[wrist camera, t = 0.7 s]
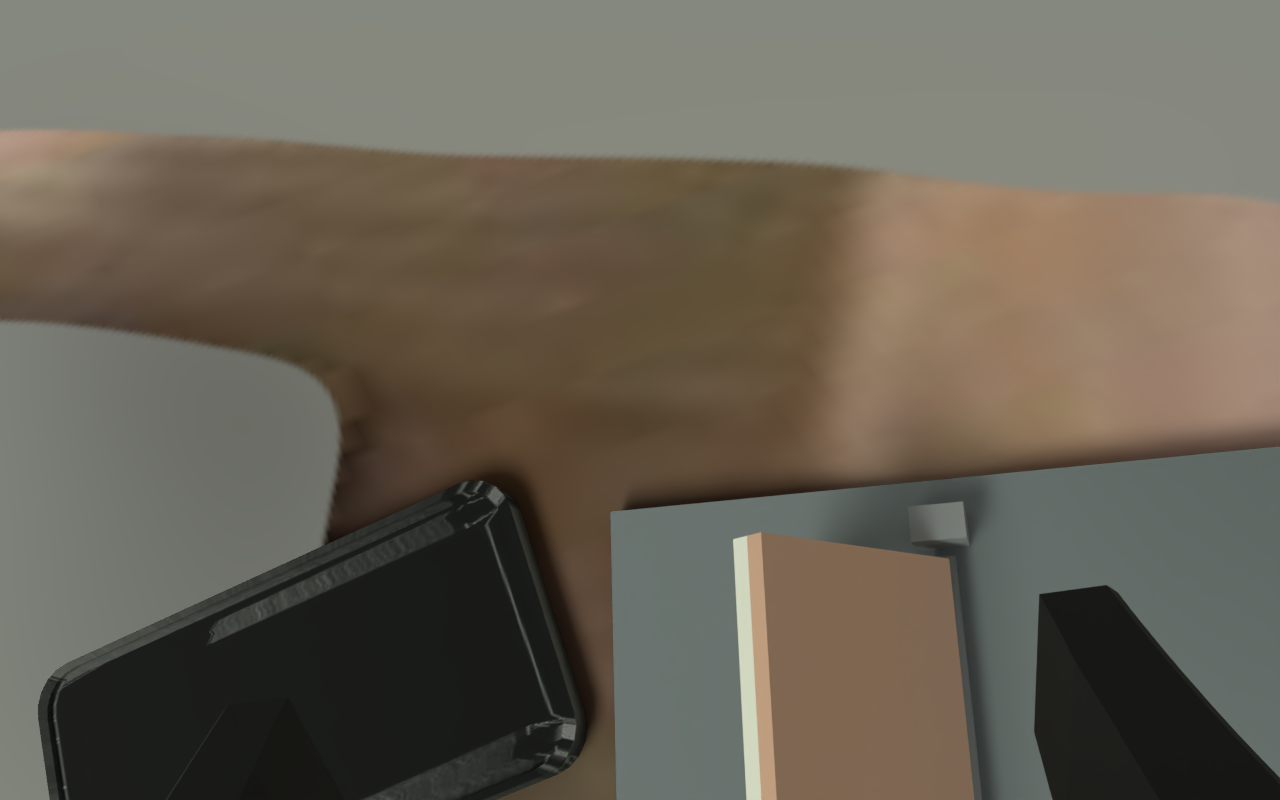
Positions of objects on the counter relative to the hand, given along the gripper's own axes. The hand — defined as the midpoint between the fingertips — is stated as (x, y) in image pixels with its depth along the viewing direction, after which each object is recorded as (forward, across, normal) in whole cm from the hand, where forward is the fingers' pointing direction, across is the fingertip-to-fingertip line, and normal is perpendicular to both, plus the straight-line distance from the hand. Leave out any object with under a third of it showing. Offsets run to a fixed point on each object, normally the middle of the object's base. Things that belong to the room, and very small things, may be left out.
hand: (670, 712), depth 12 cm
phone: (+14, +12, +15) cm, 24 cm away
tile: (+6, -2, +13) cm, 14 cm away
